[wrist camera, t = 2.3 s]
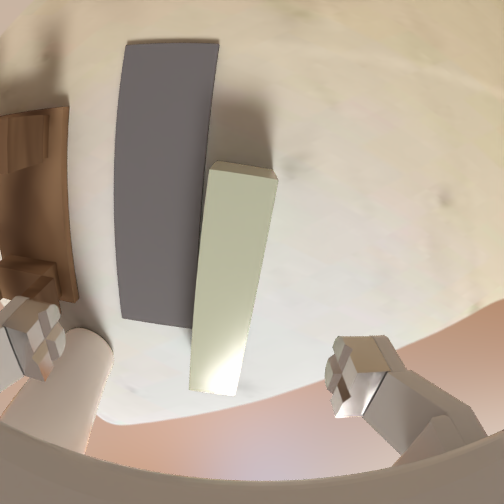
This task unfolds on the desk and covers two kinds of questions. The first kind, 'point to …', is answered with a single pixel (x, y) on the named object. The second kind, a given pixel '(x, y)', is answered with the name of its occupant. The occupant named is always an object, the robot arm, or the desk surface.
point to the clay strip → (228, 271)
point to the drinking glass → (65, 394)
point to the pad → (161, 177)
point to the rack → (35, 207)
